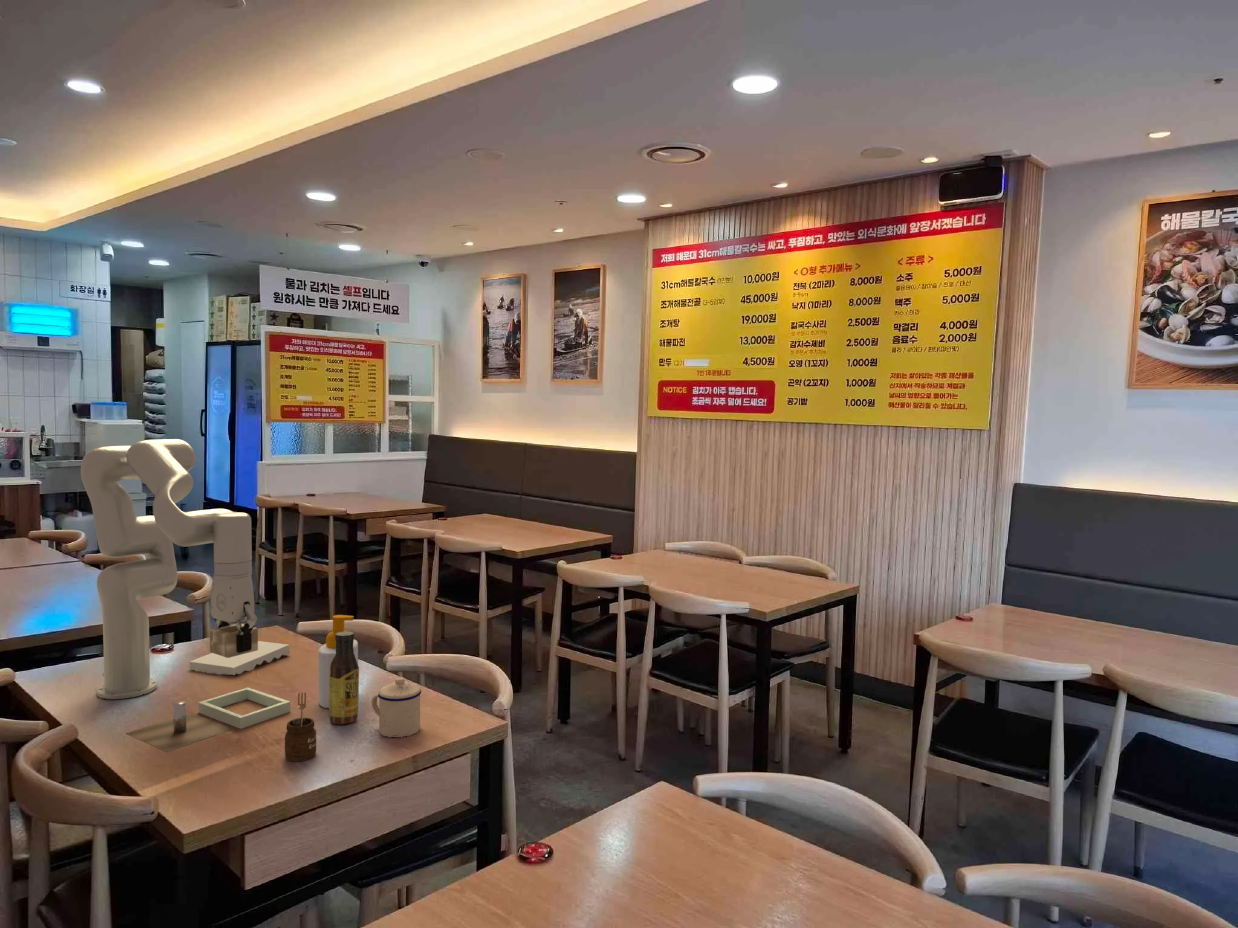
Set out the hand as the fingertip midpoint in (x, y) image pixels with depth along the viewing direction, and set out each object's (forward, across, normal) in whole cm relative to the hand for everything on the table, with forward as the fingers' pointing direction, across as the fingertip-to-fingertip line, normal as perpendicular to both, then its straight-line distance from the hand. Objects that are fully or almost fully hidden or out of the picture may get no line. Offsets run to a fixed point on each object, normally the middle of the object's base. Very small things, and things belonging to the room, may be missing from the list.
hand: (234, 647), depth 178 cm
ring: (+1, 0, 0) cm, 1 cm away
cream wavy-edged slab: (+18, -38, +24) cm, 48 cm away
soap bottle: (+17, +6, +22) cm, 29 cm away
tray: (+17, 0, +2) cm, 17 cm away
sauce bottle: (+17, +19, +15) cm, 29 cm away
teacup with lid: (+17, +32, +18) cm, 40 cm away
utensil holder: (+17, +27, -2) cm, 32 cm away
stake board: (+17, -1, -12) cm, 20 cm away
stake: (+15, -1, -12) cm, 19 cm away
